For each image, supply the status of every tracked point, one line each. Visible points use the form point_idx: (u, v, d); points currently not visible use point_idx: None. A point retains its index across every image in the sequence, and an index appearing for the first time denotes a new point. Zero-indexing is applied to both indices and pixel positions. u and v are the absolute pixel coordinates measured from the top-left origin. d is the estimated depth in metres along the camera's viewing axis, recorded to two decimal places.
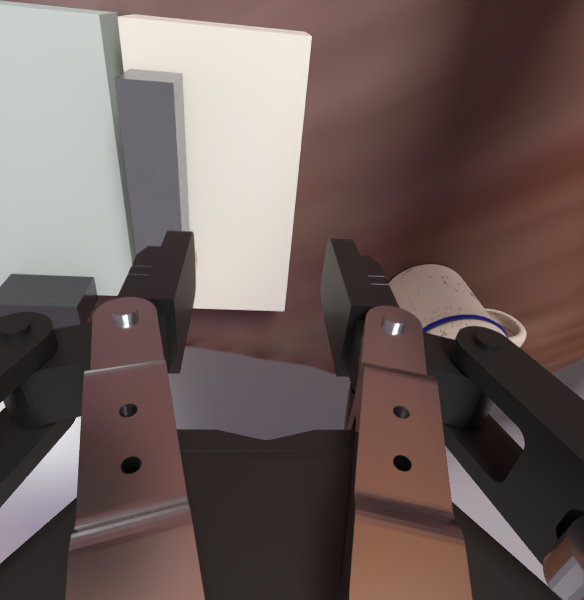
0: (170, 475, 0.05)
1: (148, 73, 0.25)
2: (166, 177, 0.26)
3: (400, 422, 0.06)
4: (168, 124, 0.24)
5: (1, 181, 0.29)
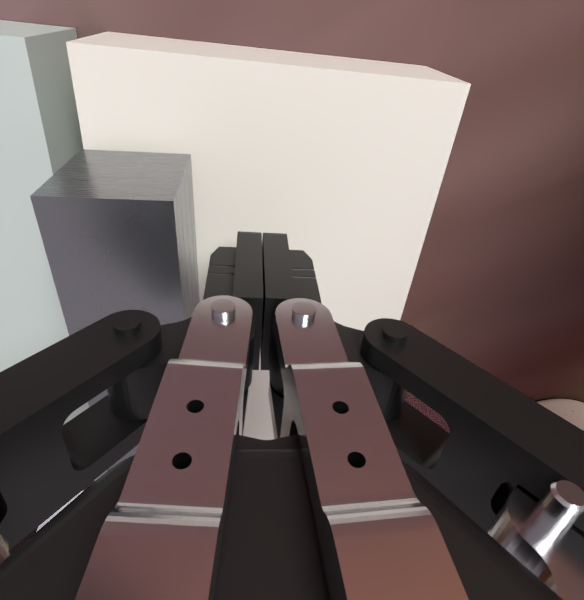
0: (170, 475, 0.05)
1: (118, 163, 0.11)
2: None
3: (342, 417, 0.06)
4: (164, 281, 0.11)
5: None
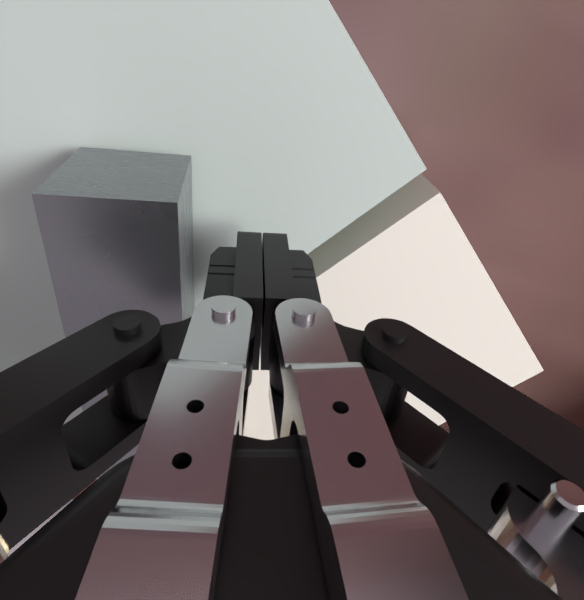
0: (170, 475, 0.05)
1: (119, 163, 0.11)
2: None
3: (342, 417, 0.06)
4: (165, 282, 0.11)
5: (9, 180, 0.13)
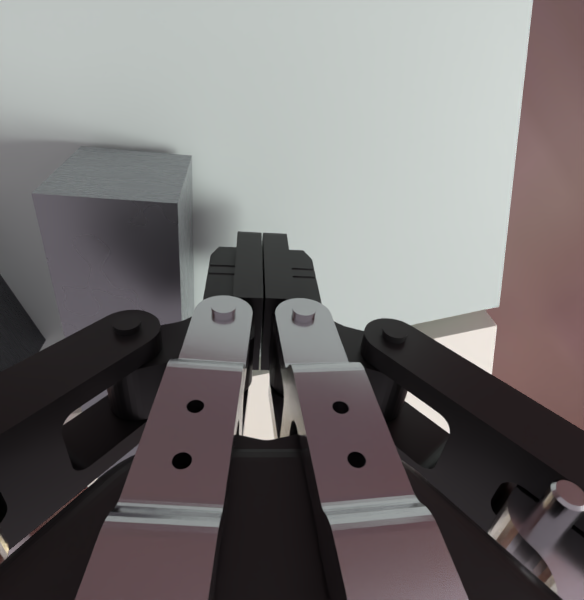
0: (170, 475, 0.05)
1: (119, 162, 0.11)
2: None
3: (342, 417, 0.06)
4: (164, 283, 0.11)
5: (193, 175, 0.13)
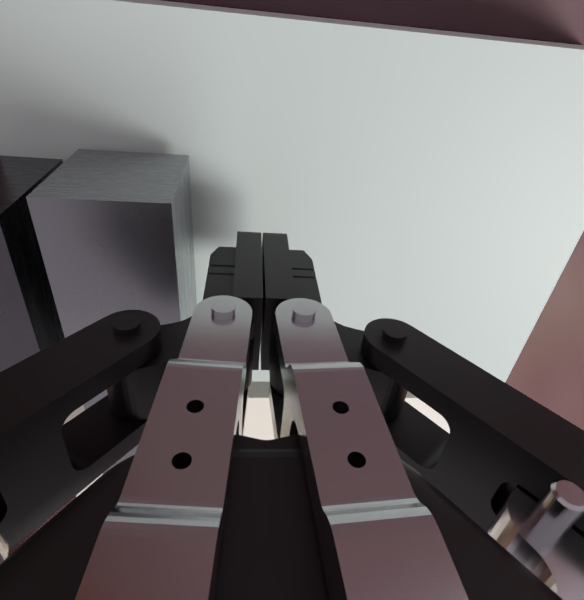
0: (170, 475, 0.05)
1: (115, 164, 0.11)
2: None
3: (342, 417, 0.06)
4: (161, 284, 0.11)
5: (304, 212, 0.14)
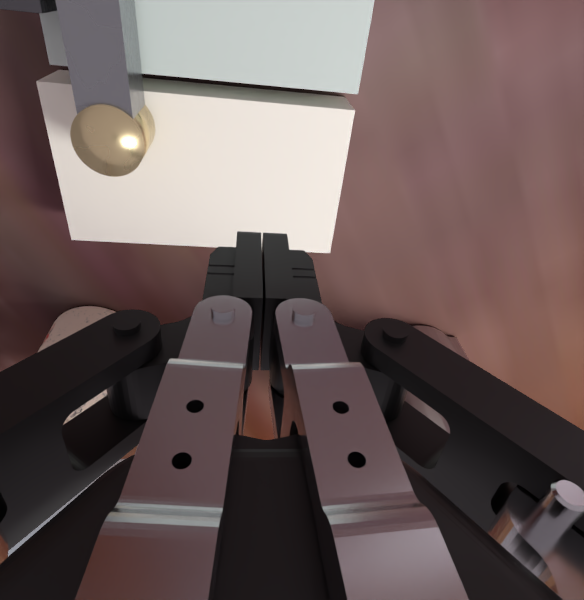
0: (170, 475, 0.05)
1: None
2: None
3: (342, 417, 0.06)
4: None
5: None
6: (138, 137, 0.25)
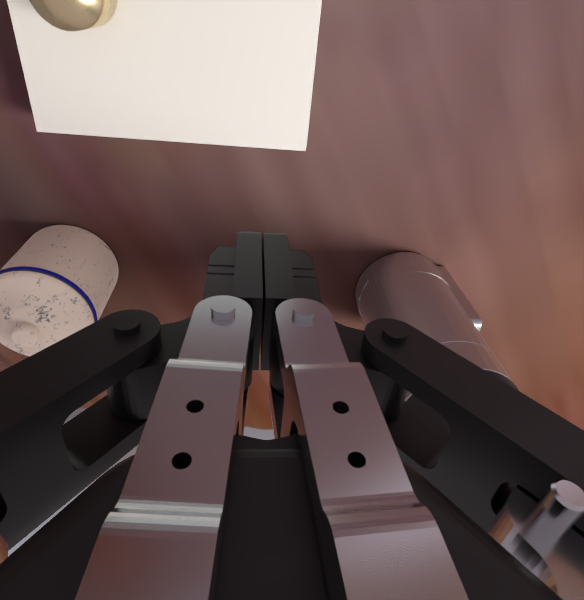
0: (170, 475, 0.05)
1: None
2: None
3: (342, 417, 0.06)
4: None
5: None
6: None
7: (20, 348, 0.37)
